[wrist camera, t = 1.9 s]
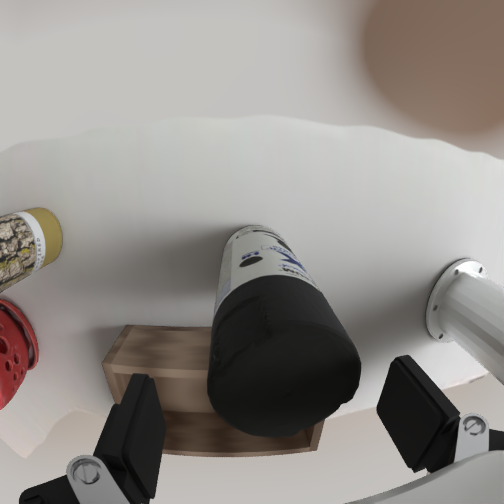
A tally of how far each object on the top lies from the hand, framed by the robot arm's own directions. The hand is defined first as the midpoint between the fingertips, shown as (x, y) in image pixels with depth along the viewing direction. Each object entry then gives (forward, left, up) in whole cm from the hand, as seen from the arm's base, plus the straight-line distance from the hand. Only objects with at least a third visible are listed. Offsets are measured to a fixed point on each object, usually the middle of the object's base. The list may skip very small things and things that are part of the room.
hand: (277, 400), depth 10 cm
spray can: (-1, 0, -21) cm, 21 cm away
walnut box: (+3, +15, -21) cm, 26 cm away
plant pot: (+35, +11, -21) cm, 43 cm away
